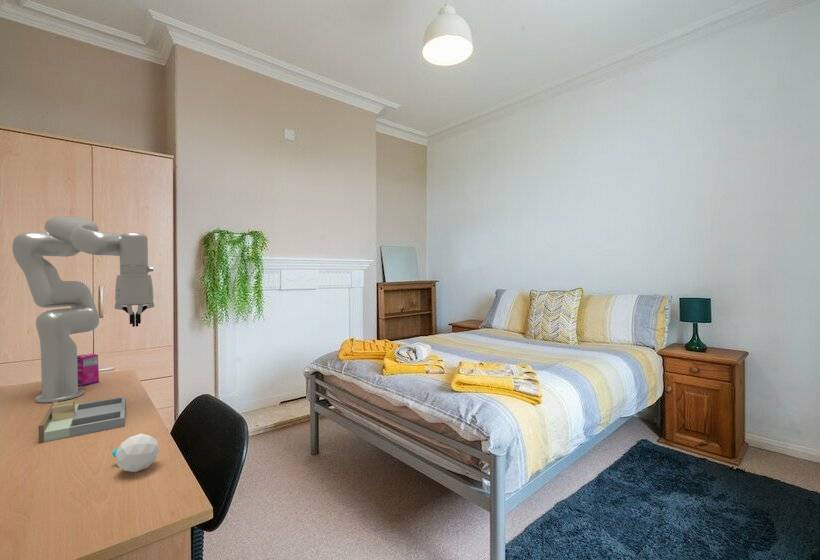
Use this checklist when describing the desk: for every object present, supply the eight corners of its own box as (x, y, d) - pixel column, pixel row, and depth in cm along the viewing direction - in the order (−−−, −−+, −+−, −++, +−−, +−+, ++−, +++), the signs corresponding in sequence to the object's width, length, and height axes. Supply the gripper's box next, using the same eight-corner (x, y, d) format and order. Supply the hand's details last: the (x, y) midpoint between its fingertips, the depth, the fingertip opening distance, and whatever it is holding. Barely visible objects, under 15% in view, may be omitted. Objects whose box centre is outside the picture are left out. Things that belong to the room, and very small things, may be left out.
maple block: (54, 416, 110) (54, 403, 110) (75, 413, 113) (74, 400, 113) (52, 421, 107) (51, 407, 107) (73, 417, 110) (72, 404, 109)
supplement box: (73, 384, 149) (73, 356, 149) (91, 380, 155) (90, 353, 155) (82, 386, 147) (81, 357, 147) (99, 382, 153) (99, 354, 152)
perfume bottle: (126, 468, 79) (86, 467, 83) (158, 475, 86) (120, 473, 89) (144, 430, 84) (105, 430, 87) (173, 438, 90) (136, 438, 94)
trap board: (53, 415, 118) (53, 401, 117) (125, 403, 128) (125, 390, 128) (38, 442, 99) (38, 426, 99) (124, 426, 110) (124, 410, 110)
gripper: (160, 270, 131) (161, 323, 132) (105, 270, 123) (107, 326, 123) (162, 270, 125) (162, 325, 126) (104, 270, 117) (105, 329, 117)
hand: (135, 326), depth 125 cm, fingers closed
